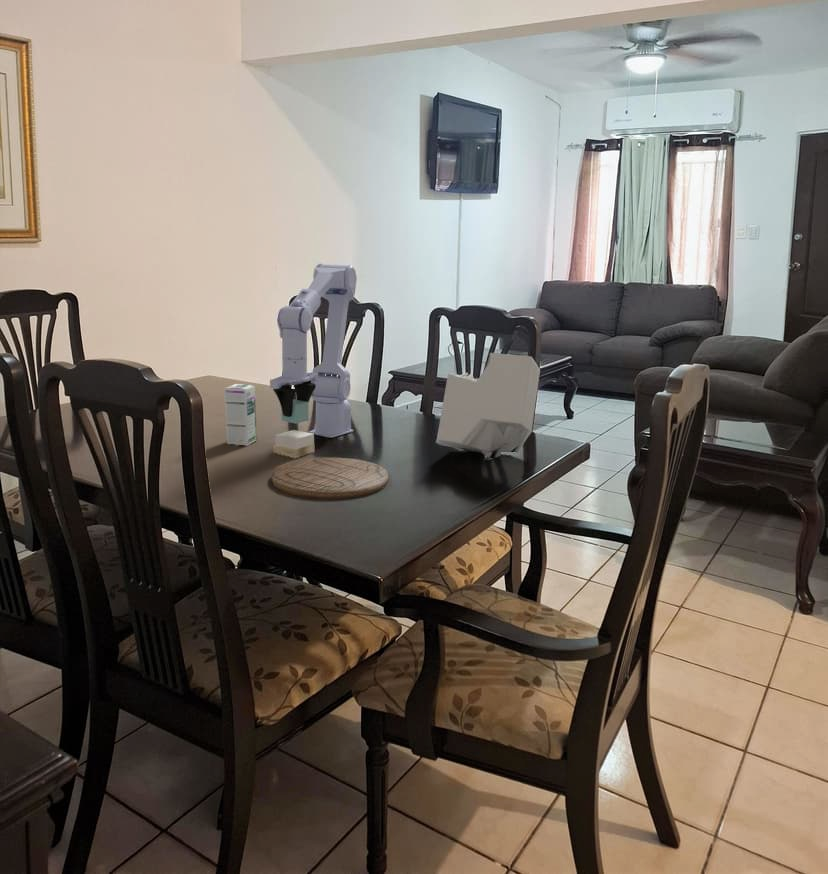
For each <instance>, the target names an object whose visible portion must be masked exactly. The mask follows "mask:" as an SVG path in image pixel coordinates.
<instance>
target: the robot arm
mask: <svg viewBox="0 0 828 874" xmlns="http://www.w3.org/2000/svg"><path fill="white" fill-rule="evenodd" d="M312 276H313V280H312V282H311V283H310V285H309V286H308V288H302V289H301V290H300V292H299V293H298V294H297V295H296V297H294V299H293V300H292V301H291V303H289V305H285V306H283V307H281V308H280V309H279V311H278V314H277V318H276V321H277V323H276V324H277V327H278V330H279V336H280V338H281V350H282V352H281V356H282V357H281V358H282V363H281V367H282V369H281V370H282V372H281V373H282V374H281V376H277V377H275V378H273V379H269V388H270V389H273V390H272V391H273V392H274V394H275V395H276V396H277V399H278V402H279V405H280V407H281V413H282V412H283V416H287V417H291V416H292V410H293V400H294V399H295V397H296V400H300V401H305V402H310V400H311V397H312V398H313V401H314V402H315V429H312V430H309V431H308V433H312V434H314V435H317V436H321V437H325V438H328V439H329V438H331V439H332V438H336V437H338V436H339V437H340V436H343V435H345V434H349V433H353V432H354V429H352V408H351V404H350V402H349V401H348V400H347V399H348V398H349V397H350V395H351V394H350V393H351V373H350V371H349V370H348V369H346V368H345V366H343V364H342V360H343V359H342V358H343V350H344V344H345V342H344V341H345V333H346V325H347V317H348V309H349V305H350V304H349V303H350V301H352V300H354V299H355V295H356V289H357V278H358V277H357V271H356V269H355V268H354V266H353V265H351V264H348V265H344V264H343V265H341V264H325V263H324V264H323V263H317V264H316V266H315V267H314V269H313V275H312ZM321 298H323V299H325V300H327V301H328V303H329V305H328V311H327V312H328V313H327V321H326V328H325V337H324V345H323V353H322V354H323V355H322V362H320V364H318V365H316V366H315V367H314V368H313V369H312V370H311V371H312V372H308V346H307V345H308V332H309V331H310V329H311V328H312V326H311V325H312V322H313V319H314V314H315V313H316V312H317V311H318V309H319V308H320V306H321V305H322V304H321V303H322V300H321ZM291 386H293V388H292V387H291Z"/></svg>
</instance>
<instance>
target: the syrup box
mask: <svg viewBox="0 0 828 874" xmlns="http://www.w3.org/2000/svg"><path fill="white" fill-rule="evenodd" d="M256 405H257V404H256V385H254V384H249V383H234V384H232V385H229V386H228V387H224V407H225V410H224V411H225V429H226V430H225V432H226V433H225V434H226V435H225V436H226V445H230V444H235V445H234V446H239V445H245V446H244V447H249V446H250V445H251V444H253V443H254V442H256V441H258V440H257V439H258V437H257V411H256V410H257V409H256V407H257V406H256Z"/></svg>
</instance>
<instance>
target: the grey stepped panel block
mask: <svg viewBox="0 0 828 874" xmlns="http://www.w3.org/2000/svg"><path fill="white" fill-rule="evenodd" d="M540 374H541V369H540V368H539V366H538V364H537V362H535V360H534V358H533V356H530V355H520V354H518V355H517V354H508V353H497V352H490V353H489V356H488V360H487V364H486V366H485V368H484V370H483V371H482V373H481V374H480V375H479V377H476V378H474V377H475V376H473V373H470V374H469V373H468V372H465V373H462V374H460V375H459V373H458V374H455V375H453V374H449V373H448V374H447V378H446V382H445V383H446V384H445V389H444V396H443V402H442V407H441V411H440V412H441V413H440V419H439V425H438V430H437V435H436V436H437V437H436V440H435V444H437V445H439V446H442V447H443V446H444V447H450V448H453V449H455V450H456V451H459V452H461V451H464V450H465V449H466V450H469V449H471V451H474V450H477V451H476V452H480V451H481V453H482V455H483V456H484V457H485V458H487V457H488V458H494V459H495V458H498V457H501V452H517V454H518V453H519V452H518V451H520V450H521V448H522V446H523V445H524V444H525V442H526V441H527V439H528V437H530V435H531V434H532V431H533V423H534V416H535V409H536V401H537V395H538V390H539V389H538V388H539V382H540V381H539V379H540ZM463 448H465V449H463Z"/></svg>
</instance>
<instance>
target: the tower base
mask: <svg viewBox="0 0 828 874" xmlns="http://www.w3.org/2000/svg"><path fill="white" fill-rule="evenodd" d="M315 445H316V444H315V443H314V444H312V445H309V446H306V447H302V448H299V449H292V448H287V447H282V446H278V445H276V444H272V448H273V449H272V453H273V452H274V453H273V454H275V453H278V454H277V455H280V454H281V455H280V456H284V455H285V457H288V456H289V457H288V458H293V459H297V458H300V456H301V457H303V456H307V455H310V454H314V453H315V449H316V448H315Z"/></svg>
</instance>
